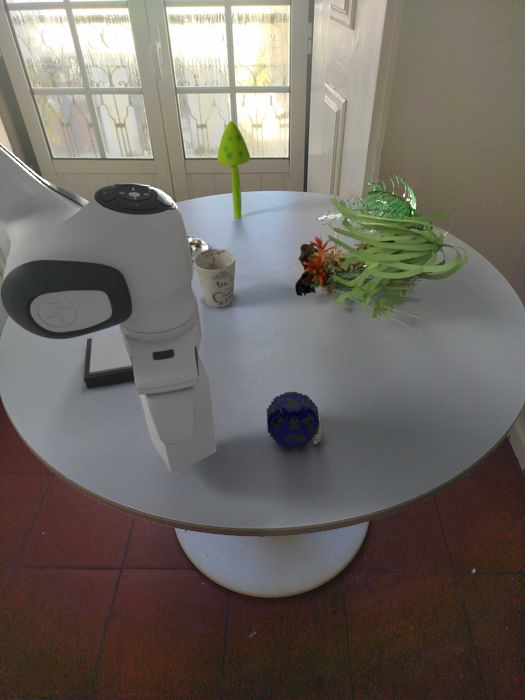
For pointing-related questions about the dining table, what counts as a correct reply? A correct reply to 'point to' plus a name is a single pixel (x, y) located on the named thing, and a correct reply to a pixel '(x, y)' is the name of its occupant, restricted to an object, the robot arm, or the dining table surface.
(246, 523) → the dining table surface
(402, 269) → the plant
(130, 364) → the scale
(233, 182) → the mushroom
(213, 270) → the mug
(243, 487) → the dining table surface
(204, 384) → the milk carton
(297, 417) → the ball
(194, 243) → the plate of food scraps
